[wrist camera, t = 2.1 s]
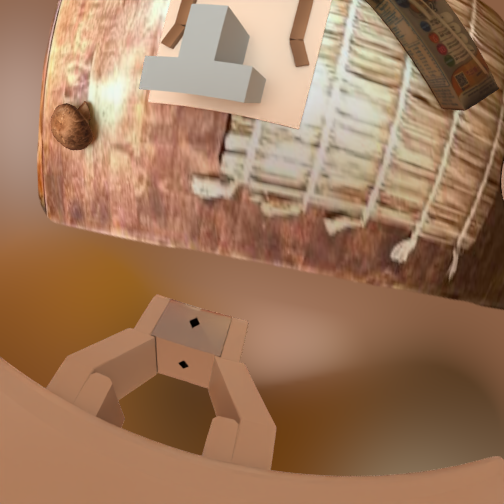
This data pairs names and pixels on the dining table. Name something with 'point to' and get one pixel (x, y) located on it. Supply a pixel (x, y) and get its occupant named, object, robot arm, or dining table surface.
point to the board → (261, 59)
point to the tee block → (207, 59)
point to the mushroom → (72, 126)
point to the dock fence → (295, 36)
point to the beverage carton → (439, 50)
